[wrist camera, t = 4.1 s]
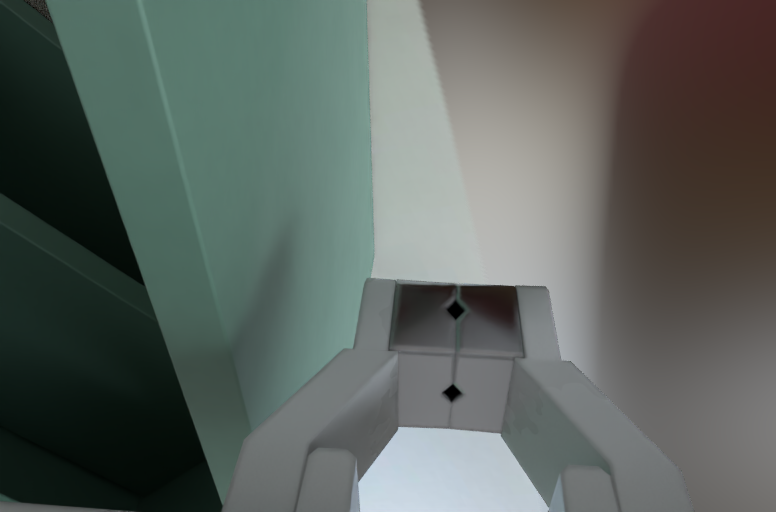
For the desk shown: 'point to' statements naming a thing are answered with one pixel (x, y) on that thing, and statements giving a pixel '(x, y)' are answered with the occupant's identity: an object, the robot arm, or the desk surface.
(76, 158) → the cabinet
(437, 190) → the desk surface
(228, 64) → the cabinet door
